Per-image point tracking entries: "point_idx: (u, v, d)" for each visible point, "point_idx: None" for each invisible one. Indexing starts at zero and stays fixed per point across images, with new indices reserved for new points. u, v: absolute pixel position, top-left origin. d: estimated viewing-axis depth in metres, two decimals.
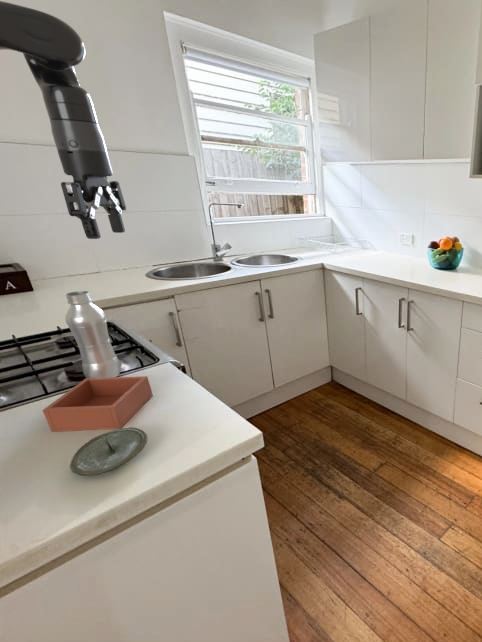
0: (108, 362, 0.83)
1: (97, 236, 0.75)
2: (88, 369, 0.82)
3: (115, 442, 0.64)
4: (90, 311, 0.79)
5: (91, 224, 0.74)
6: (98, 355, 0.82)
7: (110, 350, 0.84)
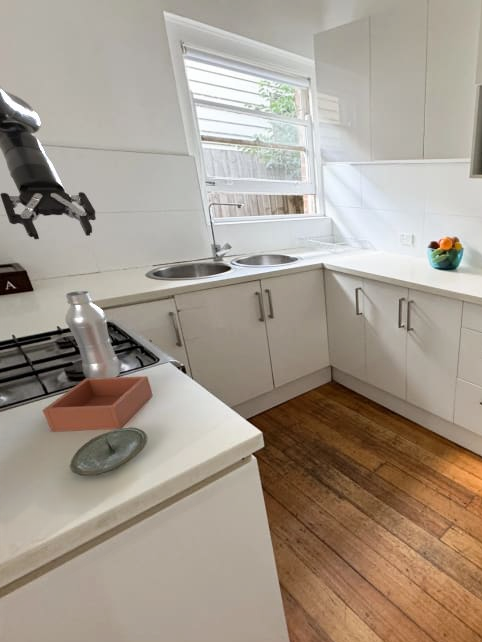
0: (108, 362, 0.83)
1: None
2: (88, 369, 0.82)
3: (115, 442, 0.64)
4: (90, 311, 0.79)
5: None
6: (98, 355, 0.82)
7: (110, 350, 0.84)
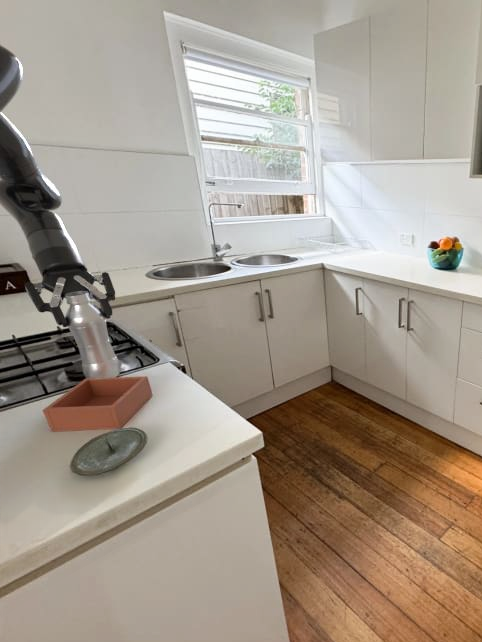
0: (108, 362, 0.83)
1: None
2: (88, 369, 0.82)
3: (115, 442, 0.64)
4: (90, 311, 0.79)
5: None
6: (98, 355, 0.82)
7: (110, 350, 0.84)
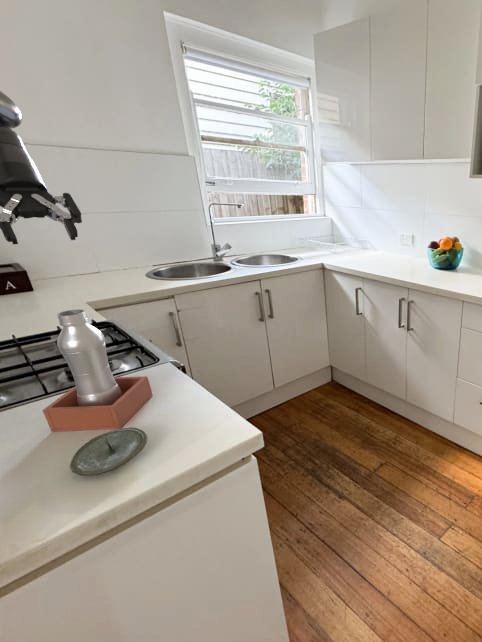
0: (108, 392, 0.71)
1: None
2: (84, 400, 0.70)
3: (115, 442, 0.64)
4: (86, 334, 0.67)
5: None
6: (96, 384, 0.70)
7: (110, 378, 0.72)
